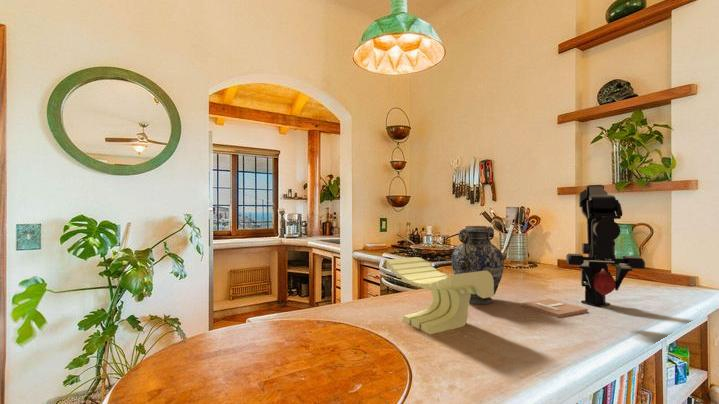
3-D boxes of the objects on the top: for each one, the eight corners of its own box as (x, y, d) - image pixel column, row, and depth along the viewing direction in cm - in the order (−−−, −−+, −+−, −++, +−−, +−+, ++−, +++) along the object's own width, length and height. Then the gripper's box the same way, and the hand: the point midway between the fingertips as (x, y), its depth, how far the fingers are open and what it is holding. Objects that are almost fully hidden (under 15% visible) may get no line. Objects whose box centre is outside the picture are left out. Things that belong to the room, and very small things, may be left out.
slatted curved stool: (494, 333, 95) (493, 269, 95) (451, 345, 87) (450, 275, 87) (424, 306, 121) (424, 256, 121) (386, 313, 113) (386, 259, 114)
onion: (620, 298, 99) (619, 270, 100) (598, 297, 101) (597, 270, 101) (609, 293, 105) (609, 267, 105) (588, 292, 106) (588, 266, 106)
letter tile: (549, 301, 126) (549, 297, 126) (587, 311, 113) (587, 308, 113) (521, 305, 121) (521, 302, 121) (558, 317, 108) (558, 313, 108)
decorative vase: (485, 311, 114) (483, 227, 115) (440, 300, 129) (438, 226, 129) (516, 300, 127) (514, 225, 128) (472, 292, 142) (470, 224, 143)
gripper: (633, 236, 107) (634, 286, 106) (563, 234, 114) (564, 281, 114) (645, 239, 96) (646, 294, 96) (568, 237, 104) (569, 288, 104)
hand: (603, 289), depth 103 cm, fingers closed on onion, 6 cm apart
